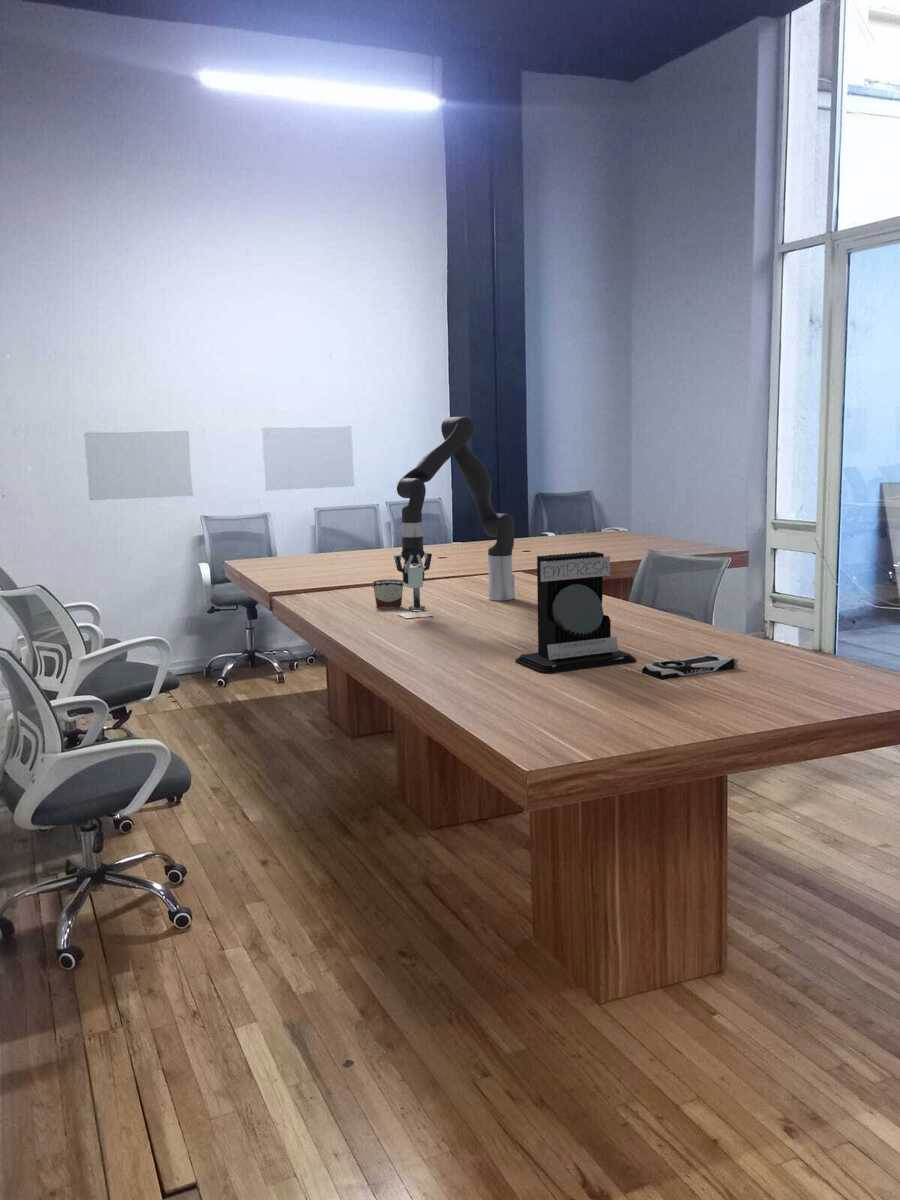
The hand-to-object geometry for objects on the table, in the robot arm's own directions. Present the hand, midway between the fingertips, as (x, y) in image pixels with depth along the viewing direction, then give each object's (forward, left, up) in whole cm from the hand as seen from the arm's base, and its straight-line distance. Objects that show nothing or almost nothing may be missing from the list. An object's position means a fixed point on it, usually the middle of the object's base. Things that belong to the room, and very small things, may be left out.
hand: (413, 582), depth 361 cm
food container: (+1, -24, -12) cm, 27 cm away
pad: (0, 0, -12) cm, 12 cm away
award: (-14, +91, -12) cm, 93 cm away
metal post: (-5, -11, -12) cm, 17 cm away
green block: (0, 0, -1) cm, 1 cm away
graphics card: (-35, +115, -13) cm, 121 cm away
